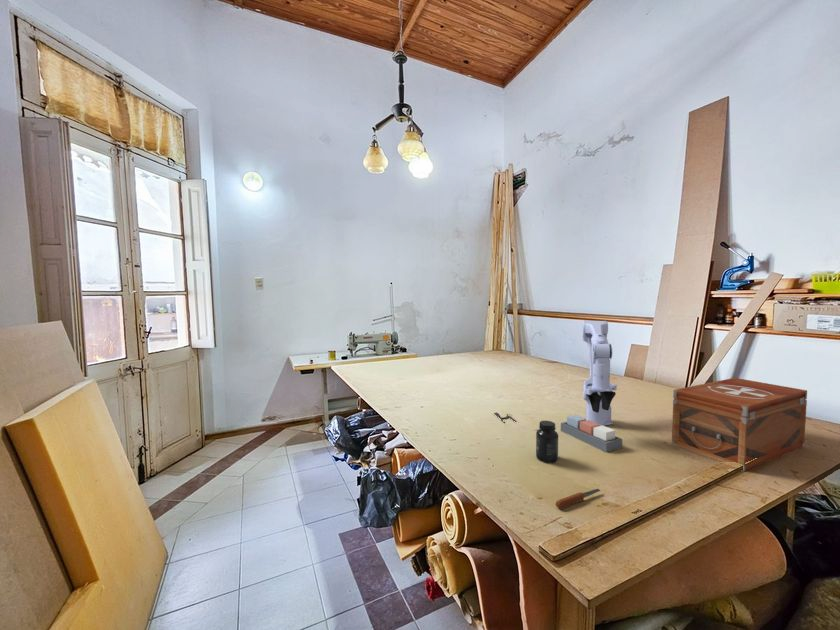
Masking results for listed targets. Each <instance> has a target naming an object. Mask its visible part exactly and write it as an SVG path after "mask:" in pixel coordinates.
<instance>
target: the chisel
mask: <svg viewBox="0 0 840 630" xmlns="http://www.w3.org/2000/svg"><path fill="white" fill-rule="evenodd" d="M600 491H601V490H600V489H599V488H596V489H595V488H594V489H591V490H588V491H585V492H577V493H575V494H571V495H569V496H566V497H563V498H560V499H558V500H556V502H555V506H556V508H558V509H564V508H567V507H570V506H572V505H574V504H576V503H578V502H583V501H584V500H585V499H584V498H587V497H590V496H592V495H594V494H597V493H599V492H600Z"/></svg>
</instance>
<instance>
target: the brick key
mask: <svg viewBox="0 0 840 630" xmlns="http://www.w3.org/2000/svg"><path fill="white" fill-rule="evenodd" d="M598 426H600V424H598V423H595V422H593V421H590V420H586V421H581V422H580V430H582V431H584V432H586V433H589V434H593V432H594V427H598Z"/></svg>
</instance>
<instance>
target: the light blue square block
mask: <svg viewBox="0 0 840 630" xmlns="http://www.w3.org/2000/svg"><path fill="white" fill-rule="evenodd" d="M581 421H586V417H585V418H584V417H582V416H579V415H577V414H574V415H569V416H566V422H567V424H568V425H570V426H573V427H575V428H577V429H578V428H580V422H581Z"/></svg>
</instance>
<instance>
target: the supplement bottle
mask: <svg viewBox="0 0 840 630" xmlns="http://www.w3.org/2000/svg"><path fill="white" fill-rule="evenodd" d="M538 427H539V428H538V429H536V433H535V437H536V438H535V457H536V459H537V460H538V461H539V462H542V463H545V464H555V463H557V462H558V460H559V433H558V432H557V431H556V422H554V421H550V420H541V421H539V425H538Z"/></svg>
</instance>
